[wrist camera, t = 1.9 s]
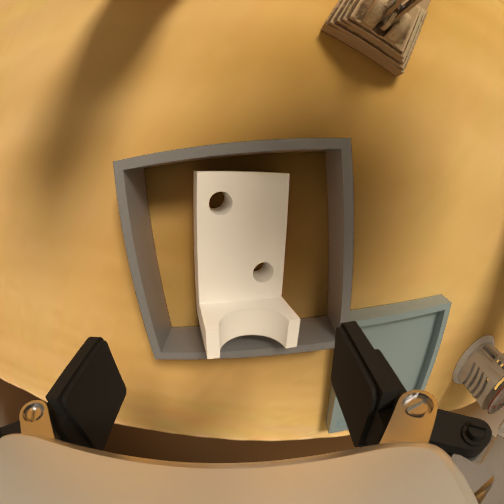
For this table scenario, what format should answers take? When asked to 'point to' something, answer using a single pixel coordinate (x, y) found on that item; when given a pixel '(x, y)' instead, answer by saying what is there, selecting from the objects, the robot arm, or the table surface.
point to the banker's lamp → (379, 29)
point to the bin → (147, 271)
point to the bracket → (241, 257)
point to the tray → (400, 343)
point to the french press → (471, 374)
